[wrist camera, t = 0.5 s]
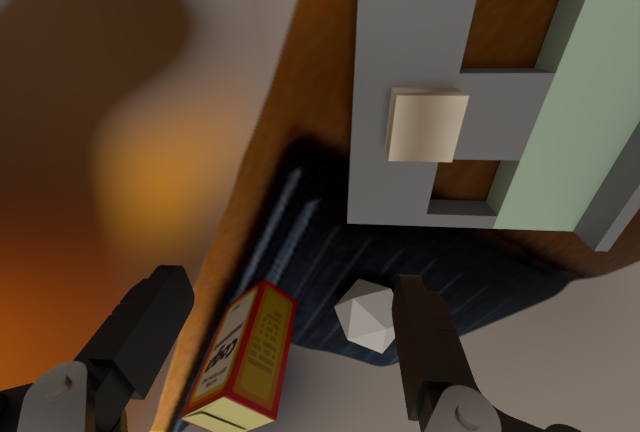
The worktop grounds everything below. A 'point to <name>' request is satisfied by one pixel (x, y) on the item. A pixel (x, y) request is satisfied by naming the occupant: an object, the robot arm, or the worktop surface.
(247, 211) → the worktop surface
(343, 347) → the worktop surface
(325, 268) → the worktop surface
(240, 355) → the baking soda box
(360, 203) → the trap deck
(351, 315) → the die
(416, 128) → the birch block
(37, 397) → the robot arm
